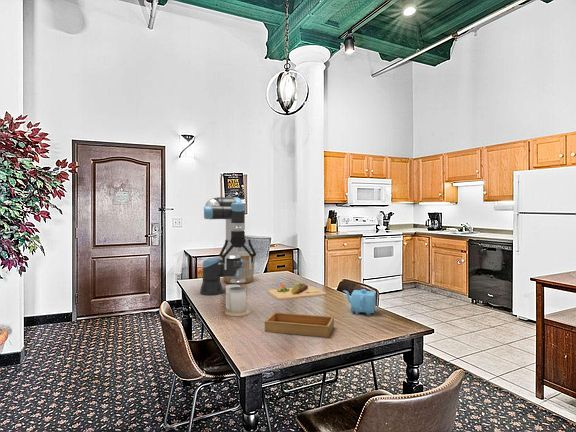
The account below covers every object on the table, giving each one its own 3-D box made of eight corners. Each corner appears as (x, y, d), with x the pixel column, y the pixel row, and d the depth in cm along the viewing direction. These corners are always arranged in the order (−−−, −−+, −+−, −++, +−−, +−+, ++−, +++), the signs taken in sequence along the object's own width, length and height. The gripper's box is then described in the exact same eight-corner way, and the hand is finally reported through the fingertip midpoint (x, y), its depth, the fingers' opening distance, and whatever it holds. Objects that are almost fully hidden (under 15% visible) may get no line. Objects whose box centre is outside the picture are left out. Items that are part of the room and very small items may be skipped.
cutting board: (278, 301, 230) (278, 289, 230) (266, 292, 252) (266, 281, 252) (327, 296, 244) (327, 284, 244) (312, 288, 265) (312, 278, 265)
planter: (222, 278, 296) (222, 251, 296) (254, 277, 299) (254, 251, 299) (220, 285, 271) (220, 256, 270) (255, 284, 273) (255, 255, 273)
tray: (264, 332, 174) (264, 320, 174) (274, 322, 188) (274, 311, 188) (328, 339, 165) (328, 326, 165) (333, 328, 180) (333, 316, 180)
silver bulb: (229, 280, 206) (229, 260, 205) (244, 279, 208) (244, 260, 207) (230, 283, 197) (230, 263, 197) (246, 282, 199) (246, 262, 199)
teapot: (375, 309, 210) (376, 287, 210) (372, 317, 196) (373, 293, 195) (344, 306, 216) (344, 285, 216) (339, 314, 202) (339, 290, 201)
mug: (246, 304, 219) (246, 287, 219) (226, 306, 216) (226, 288, 216) (244, 301, 227) (244, 284, 227) (225, 302, 224) (225, 284, 224)
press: (224, 309, 208) (224, 286, 208) (248, 308, 212) (248, 285, 211) (226, 317, 195) (226, 292, 194) (252, 315, 198) (252, 290, 198)
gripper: (215, 231, 195) (215, 271, 195) (261, 230, 201) (261, 269, 202) (214, 230, 202) (214, 268, 203) (259, 229, 208) (259, 267, 209)
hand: (237, 269), depth 202 cm, fingers open, 13 cm apart
